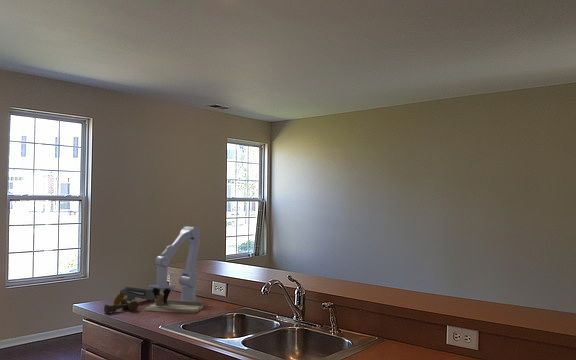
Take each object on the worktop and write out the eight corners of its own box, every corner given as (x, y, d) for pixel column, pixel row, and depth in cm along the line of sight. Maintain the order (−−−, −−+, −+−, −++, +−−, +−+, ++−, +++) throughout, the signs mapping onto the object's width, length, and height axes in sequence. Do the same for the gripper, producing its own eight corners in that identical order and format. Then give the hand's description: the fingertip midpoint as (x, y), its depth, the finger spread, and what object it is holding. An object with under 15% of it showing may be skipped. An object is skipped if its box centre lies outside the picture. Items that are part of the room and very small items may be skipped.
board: (155, 305, 276) (156, 299, 276) (203, 308, 271) (203, 301, 271) (145, 310, 263) (145, 304, 263) (194, 313, 258) (194, 306, 258)
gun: (150, 315, 288) (159, 290, 293) (114, 305, 272) (124, 279, 277) (147, 314, 291) (156, 289, 295) (111, 304, 274) (121, 278, 279)
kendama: (101, 313, 259) (135, 306, 273) (109, 317, 252) (144, 309, 266) (101, 302, 258) (135, 295, 273) (109, 305, 252) (144, 298, 266)
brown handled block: (160, 303, 274) (160, 293, 274) (166, 304, 273) (166, 294, 273) (151, 307, 264) (152, 297, 264) (158, 307, 263) (159, 297, 263)
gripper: (146, 278, 269) (145, 303, 268) (171, 279, 266) (170, 304, 266) (152, 276, 276) (151, 300, 275) (176, 277, 273) (176, 301, 273)
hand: (161, 302), depth 271 cm, fingers closed on brown handled block, 4 cm apart
